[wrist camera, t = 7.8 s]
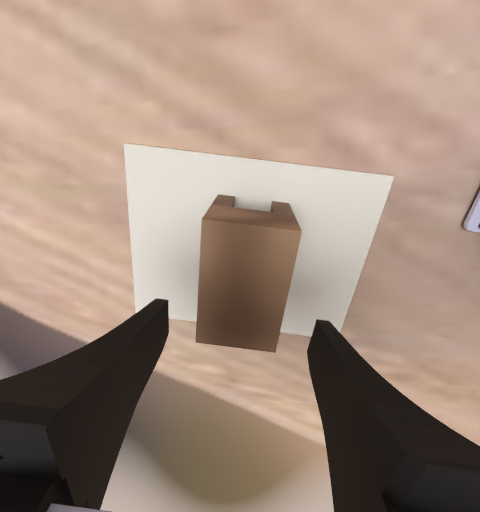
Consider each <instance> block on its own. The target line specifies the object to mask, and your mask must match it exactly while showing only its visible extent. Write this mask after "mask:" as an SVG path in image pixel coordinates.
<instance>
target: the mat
mask: <svg viewBox="0 0 480 512" xmlns="http://www.w3.org/2000/svg"><path fill="white" fill-rule="evenodd" d="M124 154H125V169H126V183H127V197H128V211H129V225H130V239H131V253H132V267H133V281H134V295H135V310H136V313H137V312H138V311H140V310H141V309H142V308H144V307H145V306H146V305H148V304H149V303H150V302H152V301H153V300H154V299H156V298H157V299H165V300H168V313H169V318H171V319H179V320H187V321H194V322H197V304H198V284H199V263H200V243H201V223H202V218H203V216H204V215H205V213H206V212H207V210H208V209H209V207H210V206H211V204H212V203H213V201H214V200H215V198H216V197H217V195H218V194H219V195H227V196H235V202H234V207H235V208H243V209H251V210H260V211H268V212H270V210H271V203H272V201H276V202H284V203H289V204H290V206H291V209H292V211H293V213H294V215H295V217H296V219H297V221H298V224H299V226H300V228H301V230H302V234H301V239H300V244H299V248H298V253H297V257H296V262H295V266H294V271H293V275H292V280H291V284H290V289H289V293H288V298H287V302H286V307H285V311H284V316H283V320H282V325H281V329H280V333H288V334H296V335H304V336H312V333H313V330H314V326H315V323H316V319H319V320H327V321H330V322H331V323H332V324H333V325H334V327H335V328H336V329H337V330H338V331H339V332H341V329H342V326H343V323H344V320H345V318H346V315H347V312H348V309H349V306H350V303H351V300H352V297H353V294H354V292H355V289H356V286H357V283H358V280H359V277H360V274H361V271H362V269H363V266H364V263H365V260H366V257H367V254H368V251H369V248H370V246H371V243H372V240H373V237H374V234H375V231H376V228H377V225H378V223H379V220H380V217H381V214H382V211H383V208H384V205H385V202H386V199H387V197H388V194H389V191H390V188H391V185H392V182H393V179H394V176H391V175H383V174H375V173H367V172H359V171H351V170H343V169H335V168H326V167H318V166H310V165H302V164H294V163H286V162H277V161H269V160H261V159H253V158H245V157H237V156H228V155H220V154H212V153H204V152H196V151H188V150H179V149H171V148H163V147H155V146H147V145H139V144H130V143H124Z"/></svg>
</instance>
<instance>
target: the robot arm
mask: <svg viewBox="0 0 480 512" xmlns="http://www.w3.org/2000/svg"><path fill="white" fill-rule="evenodd" d="M479 224H480V191H479V193H478V195H477V197H476V199H475V201H474V203H473V205H472V207H471V210H470V212H469V214H468V216H467V218H466V220H465V222H464V225H463V226H464V228H465V229H466V230H468V231H471V232H479V233H480V227H478V225H479ZM168 333H169V313H168V300H165V299H157V298H156V299H154V300H153V301H152V302H150V303H149V304H148V305H146V306H145V307H144V308H142V309H141V310H140V311H138V312H137V313H136V314H134V315H133V316H132V317H130V318H129V319H128V320H126V321H125V322H123V323H122V324H120V325H119V326H117V327H116V328H114V329H113V330H111V331H110V332H108V333H107V334H105V335H103V336H102V337H100V338H98V339H97V340H95V341H93V342H91V343H89V344H87V345H86V346H84V347H82V348H80V349H78V350H75V351H74V352H71V353H69V354H67V355H65V356H63V357H61V358H59V359H56V360H54V361H52V362H49V363H47V364H44V365H42V366H39V367H37V368H34V369H31V370H29V371H26V372H23V373H20V374H17V375H14V376H11V377H8V378H5V379H2V380H0V512H110V511H103V510H100V507H101V504H102V501H103V498H104V495H105V492H106V489H107V486H108V483H109V480H110V476H111V474H112V471H113V468H114V465H115V462H116V459H117V456H118V454H119V451H120V448H121V445H122V442H123V439H124V437H125V434H126V431H127V428H128V426H129V423H130V421H131V418H132V416H133V413H134V410H135V407H136V405H137V403H138V400H139V398H140V396H141V394H142V392H143V390H144V388H145V385H146V384H147V382H148V380H149V378H150V376H151V374H152V372H153V370H154V368H155V366H156V364H157V361H158V359H159V357H160V355H161V353H162V351H163V348H164V345H165V342H166V339H167V336H168ZM307 353H308V363H309V370H310V375H311V379H312V383H313V388H314V392H315V396H316V400H317V403H318V407H319V411H320V415H321V420H322V424H323V429H324V436H325V442H326V449H327V456H328V463H329V471H330V478H331V486H332V496H333V505H334V512H480V446H478V445H477V444H475V443H473V442H472V441H470V440H468V439H467V438H465V437H463V436H462V435H460V434H459V433H457V432H455V431H454V430H452V429H451V428H449V427H448V426H446V425H445V424H443V423H442V422H440V421H439V420H437V419H436V418H434V417H433V416H431V415H430V414H428V413H427V412H426V411H424V410H423V409H421V408H420V407H419V406H417V405H416V404H415V403H413V402H412V401H411V400H409V399H408V398H407V397H406V396H404V395H403V394H402V393H401V392H399V391H398V390H397V389H396V388H394V387H393V386H392V385H391V384H390V383H389V382H388V381H386V380H385V379H384V378H383V377H382V376H381V375H380V374H379V373H377V372H376V371H375V370H374V369H373V368H372V367H371V366H370V365H369V364H368V363H367V362H366V361H365V360H364V359H363V358H362V357H361V356H360V355H359V354H358V352H357V351H356V350H355V349H354V348H353V347H352V346H351V345H350V344H349V343H348V341H347V340H346V339H345V338H344V337H343V336H342V335H341V333H340V332H339V331H338V330H337V329H336V328H335V327H334V325H333V324H332V323H331V322H330V321H327V320H319V319H316V323H315V326H314V330H313V333H312V337H311V340H310V343H309V347H308V350H307Z"/></svg>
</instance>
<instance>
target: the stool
mask: <svg viewBox="0 0 480 512" xmlns="http://www.w3.org/2000/svg"><path fill="white" fill-rule="evenodd" d="M234 202H235V196H227V195H219V194H218V195H217V197H216V198H215V200H214V201H213V203H212V204H211V206H210V207H209V209H208V210H207V212H206V213H205V215H204V216H203V218H202V223H201V243H200V263H199V284H198V304H197V325H196V342H197V343H205V344H213V345H220V346H228V347H236V348H244V349H252V350H260V351H267V352H276V347H277V343H278V338H279V334H280V329H281V325H282V320H283V316H284V311H285V307H286V302H287V298H288V293H289V289H290V284H291V280H292V275H293V271H294V266H295V262H296V257H297V253H298V248H299V244H300V239H301V234H302V230H301V228H300V226H299V224H298V221H297V219H296V217H295V215H294V213H293V211H292V209H291V206H290V204H289V203H284V202H276V201H272V203H271V210H270V212H268V211H260V210H251V209H243V208H235V207H234Z"/></svg>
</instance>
